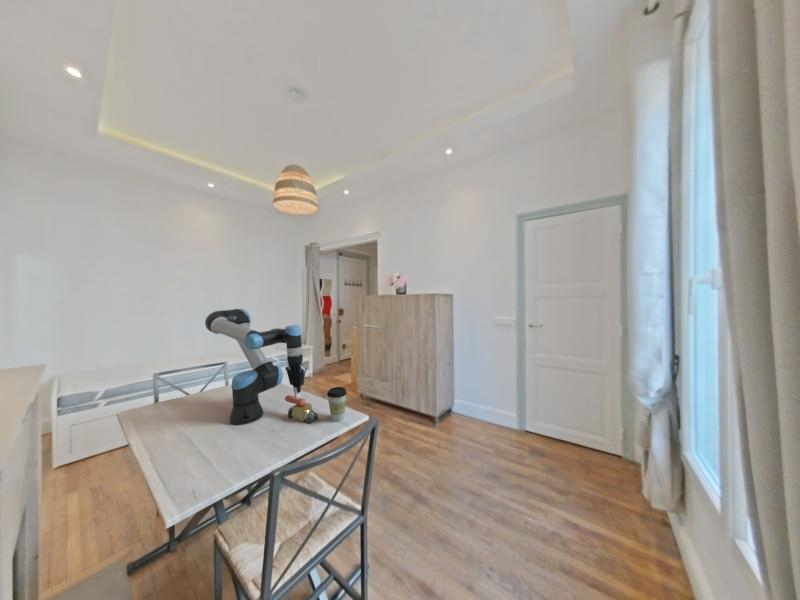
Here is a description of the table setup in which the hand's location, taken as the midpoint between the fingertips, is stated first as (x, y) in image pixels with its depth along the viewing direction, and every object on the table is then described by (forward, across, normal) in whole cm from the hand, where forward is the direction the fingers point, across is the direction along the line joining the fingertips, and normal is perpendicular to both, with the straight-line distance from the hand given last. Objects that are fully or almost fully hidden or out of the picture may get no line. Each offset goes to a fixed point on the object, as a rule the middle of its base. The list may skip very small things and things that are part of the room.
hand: (297, 398), depth 145 cm
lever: (+1, +1, -3) cm, 3 cm away
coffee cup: (+9, +23, +4) cm, 25 cm away
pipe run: (+9, +6, -3) cm, 11 cm away
